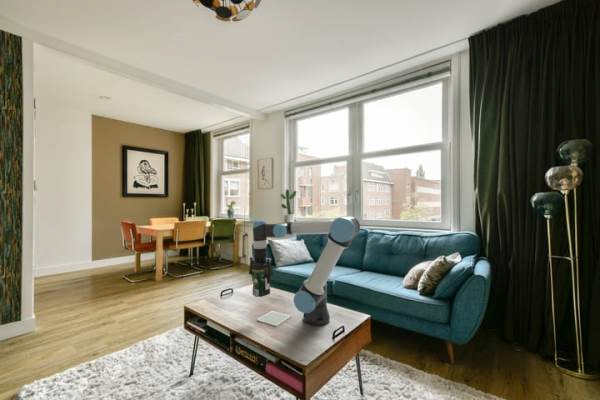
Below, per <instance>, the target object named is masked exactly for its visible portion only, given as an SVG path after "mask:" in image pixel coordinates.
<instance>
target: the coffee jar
mask: <svg viewBox="0 0 600 400" xmlns="http://www.w3.org/2000/svg"><path fill="white" fill-rule="evenodd" d="M264 266H265V267H267V262H266V263H264V265H262V264H261V263H260V262H257V263H253V264H252V272H253V281H252V295H253V296H254V298H255V297H256V298H257V297H258V298H262V297H265V296H267V295H270V294H271V288H269V289H267V290H266V287H265V278H266V275H265V269H264Z"/></svg>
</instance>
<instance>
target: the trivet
mask: <svg viewBox="0 0 600 400" xmlns="http://www.w3.org/2000/svg"><path fill="white" fill-rule="evenodd" d="M291 318H292V315H288V314H286V313H282V312H278V311H275V310H271V311H269V312H267V313H266V314H263V315H262V316H260V317H259V318H257V319H256V321H257V322H260V323H262V324H266V325H269V326H273V327H275V328H276V327H279V326H280V325H282V324H283V323H285V322H286V321H288V320H289V319H291Z"/></svg>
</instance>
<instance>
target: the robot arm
mask: <svg viewBox="0 0 600 400" xmlns="http://www.w3.org/2000/svg"><path fill="white" fill-rule="evenodd" d="M360 230H361V224H360V221H359V219H357V218H356V217H355V216H353V215H344V216H339V217H334V219H324V220H306V221H305V220H304V221H303V220H302V221H300V220H299V221H284V222H278V223H267V221H266V219H265V220H264V219H260V220H253V222H252V239H253V242H252V245H253V256H250V257H249V261H250V262H249V263H250V264H249V269H248V270H249V271H248V275H251V281H252V282H253V272H252V264H253V263H257V262H260V263H261V264H262V265H264V263H266V262H267V267H265V266H264V269H265V275H266V278H265V287H266V290H267V289H269V288H270V287H271V286H270V283H271V277H274V270H273V266H272V258H271V257H269V258H268V256H267V254H268V249H267V241H268V240H267V238H277V239H280V238H281V239H283V238H285V237H286V236H292V235H327V237H326V238H327V240H328V241H327V243H326V245H325V247H324V249H323V251H322V252H321V254H320V256H319V257H318V260H317V262H316V264H315V266H314V268H313V270H312V272H311V274H310V276H309V277H308V278H306V279H305V280H304V281H303V282H302V284H301V286H300V288H299V290H298V291H296V293H295V294H294V297H293V304H294V307H295V309H297V310H298V311H299V312H301V313H303V316H302V320H303V322H304V323H305V324H307V325H309V326H310V325H311V326H324V325H327V324H328V323H330V322H331V316H330V313H329V310H328V305H327V303H328V301H327V300H328V298H327V297H328V292H327V291H328V288H327V287H328V285H327V281H328V279H329V277H330V276H331V274H332V272H333V270H334V269H335V266H336V264H337V262H338V261H339V259H340V257H341V255H342V254H343V251H344V250H345V249H348V248H349V247H350V245H351V243H352V242H353V239H354V237H356V236H357V235H359V232H360ZM270 289H271V288H270Z"/></svg>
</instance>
